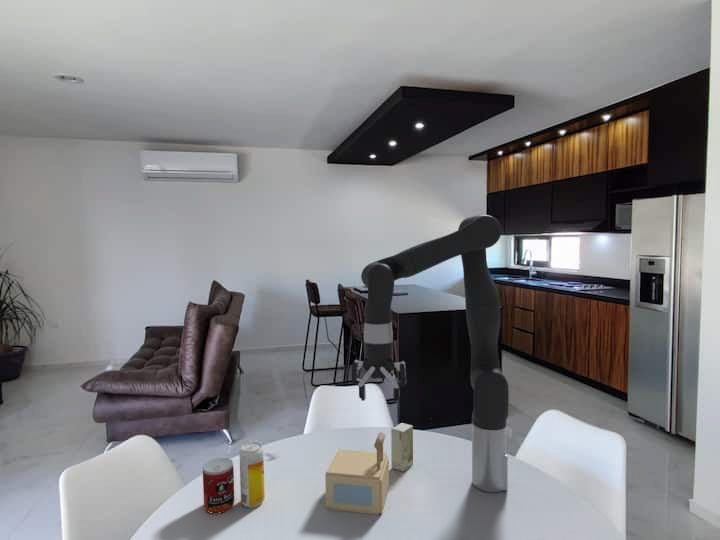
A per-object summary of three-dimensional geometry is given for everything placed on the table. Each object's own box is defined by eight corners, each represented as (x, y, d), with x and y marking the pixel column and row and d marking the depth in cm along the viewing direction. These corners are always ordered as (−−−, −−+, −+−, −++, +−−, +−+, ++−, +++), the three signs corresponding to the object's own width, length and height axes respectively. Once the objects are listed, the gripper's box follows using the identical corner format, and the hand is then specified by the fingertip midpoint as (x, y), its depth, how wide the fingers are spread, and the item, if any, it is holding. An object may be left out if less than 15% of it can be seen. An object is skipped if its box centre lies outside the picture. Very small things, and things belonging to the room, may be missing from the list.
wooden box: (389, 487, 122) (388, 455, 121) (381, 515, 109) (381, 480, 108) (338, 482, 125) (338, 451, 124) (325, 509, 112) (325, 475, 111)
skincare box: (403, 472, 130) (402, 432, 129) (390, 468, 132) (390, 428, 132) (414, 463, 135) (413, 425, 134) (402, 459, 137) (401, 421, 137)
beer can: (269, 498, 117) (267, 444, 116) (254, 511, 112) (253, 454, 111) (251, 493, 120) (249, 440, 119) (236, 505, 114) (234, 449, 113)
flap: (387, 455, 121) (387, 427, 121) (380, 479, 109) (379, 448, 108) (338, 451, 124) (338, 424, 124) (326, 474, 111) (325, 444, 111)
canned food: (206, 518, 109) (204, 475, 108) (202, 502, 116) (200, 461, 115) (237, 509, 112) (236, 467, 112) (231, 494, 120) (230, 455, 119)
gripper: (407, 337, 116) (407, 397, 117) (354, 336, 119) (355, 394, 120) (404, 343, 109) (404, 407, 109) (348, 341, 111) (349, 404, 112)
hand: (379, 400), depth 114 cm, fingers open, 8 cm apart
